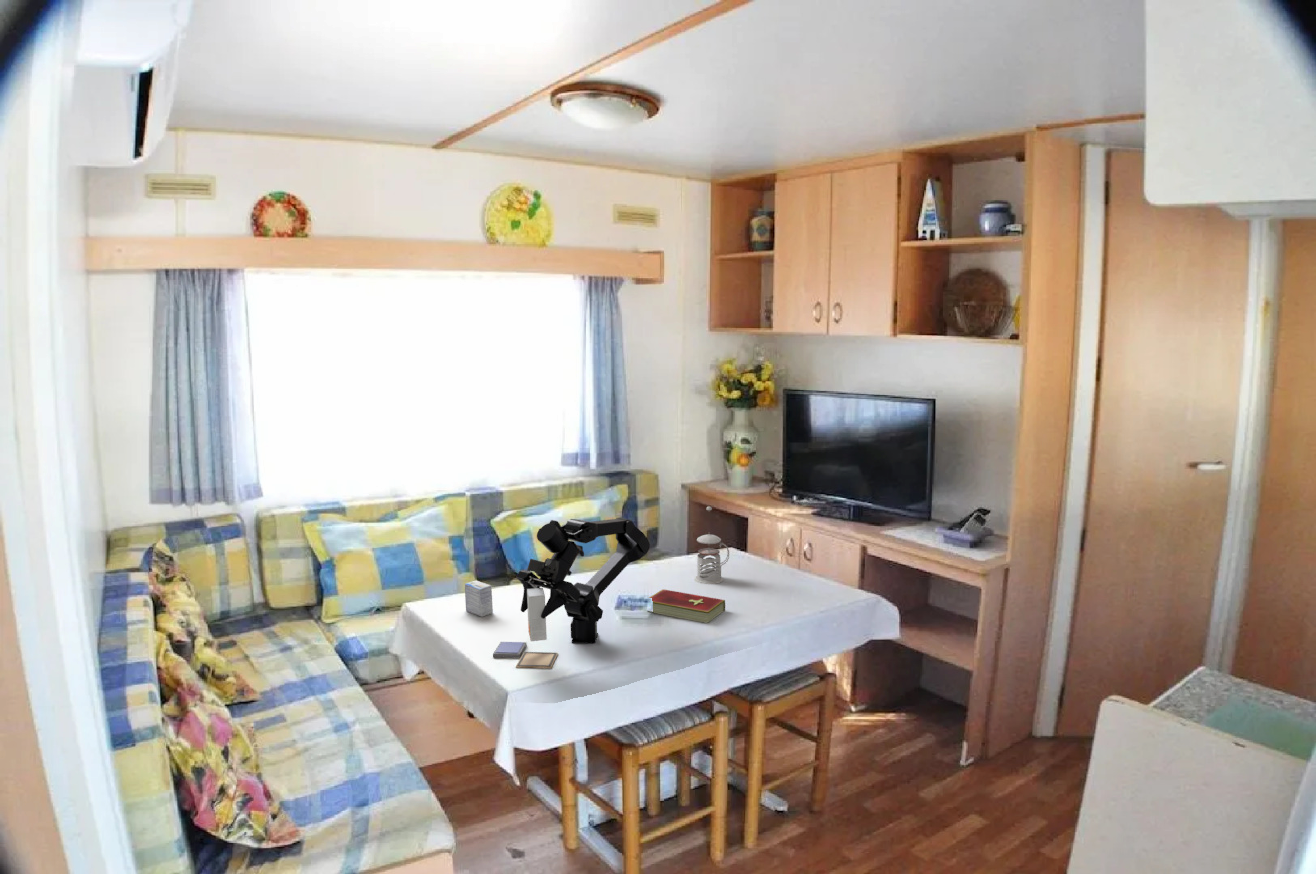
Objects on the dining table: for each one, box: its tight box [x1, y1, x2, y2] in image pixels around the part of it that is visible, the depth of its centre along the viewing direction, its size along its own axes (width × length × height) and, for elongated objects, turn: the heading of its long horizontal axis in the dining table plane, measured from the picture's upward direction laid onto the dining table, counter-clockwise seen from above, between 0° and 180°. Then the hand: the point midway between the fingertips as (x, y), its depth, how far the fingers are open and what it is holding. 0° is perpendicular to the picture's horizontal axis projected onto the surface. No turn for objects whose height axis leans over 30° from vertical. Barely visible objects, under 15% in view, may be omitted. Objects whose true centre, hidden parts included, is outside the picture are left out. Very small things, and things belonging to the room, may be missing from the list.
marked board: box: [515, 651, 559, 669], centre depth 216 cm, size 9×9×1 cm
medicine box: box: [464, 580, 494, 617], centre depth 251 cm, size 8×4×9 cm, turn 47°
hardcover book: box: [648, 589, 726, 624], centre depth 251 cm, size 12×21×4 cm, turn 61°
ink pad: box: [492, 641, 527, 659], centre depth 222 cm, size 7×8×1 cm
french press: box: [694, 506, 730, 585], centre depth 279 cm, size 10×12×25 cm
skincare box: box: [527, 587, 548, 642], centre depth 215 cm, size 6×4×12 cm
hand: (531, 614), depth 214 cm, fingers closed on skincare box, 7 cm apart
